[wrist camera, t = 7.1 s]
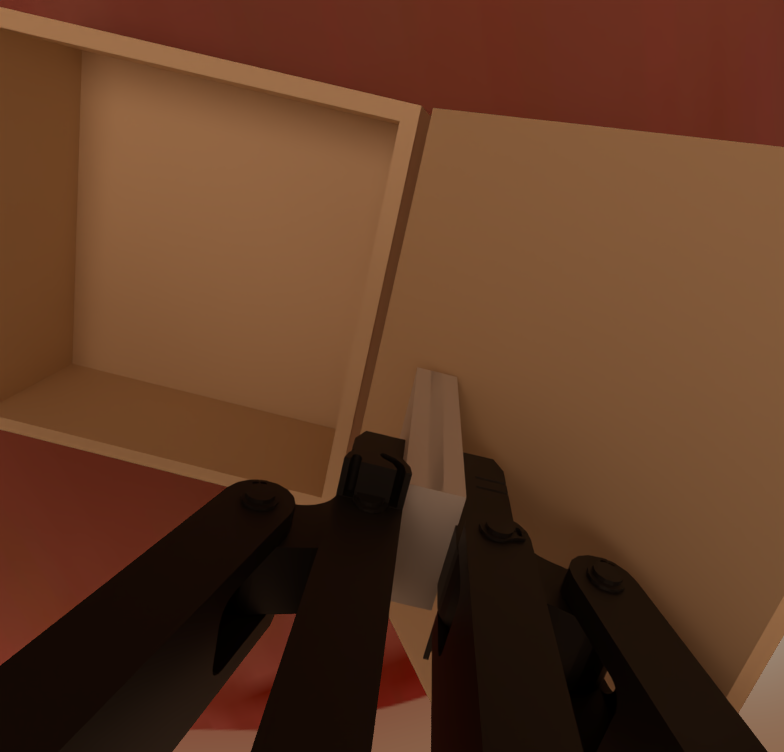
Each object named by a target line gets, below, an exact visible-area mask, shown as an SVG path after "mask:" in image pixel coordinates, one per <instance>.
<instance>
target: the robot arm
mask: <svg viewBox="0 0 784 752" xmlns="http://www.w3.org/2000/svg"><path fill="white" fill-rule="evenodd" d="M436 594H437V609H438V611H437V614H436V617H435V620H434V624H433V627H432V630H431V633H430V636H429V639H428V643H427V646H426V649H425V652H424V656H423V659H426V660H428V659H429V656H430V653H431V651H432V703H431V704H432V706H431V752H767V750H766V749H765V748H764V746H763V745H762V744H761V743H760V741H759V740H758V739H757V737H756V736H755V735H754V733H753V732H752V731H751V729H750V728H749V727H748V726H747V724H746V723H745V722H744V720H743V719H742V718H741V717H740V715H739V714H738V713H737V711H736V710H735V709H734V707H733V706H732V705H731V703H730V702H729V701H728V700H727V698H726V697H725V696H724V694H723V693H722V692H721V690H720V689H719V688H718V686H717V685H716V684H715V683H714V681H713V680H712V679H711V677H710V676H709V675H708V673H707V672H706V671H705V670H704V668H703V667H702V666H701V664H700V663H699V662H698V660H697V659H696V658H695V657H694V655H693V654H692V653H691V651H690V650H689V649H688V647H687V646H686V645H685V643H684V642H683V641H682V640H681V638H680V637H679V636H678V634H677V633H676V632H675V630H674V629H673V628H672V627H671V625H670V624H669V623H668V621H667V620H666V619H665V617H664V616H663V615H662V614H661V612H660V611H659V610H658V608H657V607H656V606H655V604H654V603H653V602H652V600H651V599H650V598H649V597H648V595H647V594H646V593H645V591H644V590H643V589H642V587H641V586H640V585H639V584H638V582H637V581H636V580H635V579H634V578H633V577H632V576H631V575H630V574H629V573H628V572H627V571H626V570H624V569H623V568H621V567H619V566H618V565H617V564H616V563H614V562H612V561H610V560H609V561H608V560H607V559H604V558H601V557H595V556H590V555H583V556H577V557H576V558H574V559H572V560H571V562H570V565H569V567H568V569H566V568H564V567H561V566H559V565H557V564H555V563H552V562H550V561H548V560H546V559H544V558H542V557H540V556H538V555H537V554H535V553H534V549H533V545H532V541H531V539H530V537H529V535H528V533H527V531H526V530H524V529H523V528H522V527H521V526H520V525H519V524H518V523H516V522H514V521H513V516H512V511H511V506H510V501H509V496H508V491H507V486H506V481H505V476H504V471H503V470H502V469H501V468H500V467H499V465H498V464H497V463H496V462H495V461H494V459H490V458H486V457H481V456H477V455H473V454H469V453H464V452H463V447H462V434H461V421H460V408H459V395H458V382H457V377H456V376H452V375H448V374H443V373H440V372H435V371H431V370H427V369H423V368H418V367H417V371H416V375H415V379H414V383H413V387H412V391H411V395H410V399H409V402H408V406H407V410H406V414H405V418H404V422H403V426H402V430H401V434H400V438H395V437H391V436H387V435H382V434H378V433H374V432H370V431H365V432H363V433H362V434H360V435H359V436H357V437H356V438H355V440H354V444H353V447H352V451H350V452H348V454H347V455H346V456H345V457H344V461H343V465H342V470H341V474H340V479H339V483H338V488H337V492H336V496H335V497H334V498H333V499H331V500H329V501H327V502H325V503H320V504H315V505H296V504H295V499H294V496H293V495H292V494H291V493H290V491H289V490H288V489H286V488H284V487H282V486H281V485H279V484H277V483H273V482H270V481H267V480H259V479H254V480H252V479H250V480H245V481H239V482H237V483H235V484H233V485H231V486H229V487H227V488H226V489H225V490H223V491H222V492H221V493H220V494H218V495H217V496H216V497H215V498H213V499H212V500H211V501H209V502H208V503H207V504H206V505H204V506H203V507H202V508H201V509H199V510H198V511H197V512H195V513H194V514H193V515H192V516H190V517H189V518H188V519H187V520H185V521H184V522H183V523H181V524H180V525H179V526H178V527H176V528H175V529H174V530H173V531H171V532H170V533H169V534H167V535H166V536H165V537H164V538H162V539H161V540H160V541H158V542H157V543H156V544H155V545H153V546H152V547H151V548H150V549H148V550H147V551H146V552H144V553H143V554H142V555H141V556H139V557H138V558H137V559H136V560H134V561H133V562H132V563H130V564H129V565H128V566H127V567H125V568H124V569H123V570H122V571H120V572H119V573H118V574H116V575H115V576H114V577H113V578H111V579H110V580H109V581H108V582H106V583H105V584H104V585H102V586H101V587H100V588H99V589H97V590H96V591H95V592H94V593H92V594H91V595H90V596H88V597H87V598H86V599H85V600H83V601H82V602H81V603H80V604H78V605H77V606H76V607H74V608H73V609H72V610H71V611H69V612H68V613H67V614H66V615H64V616H63V617H62V618H60V619H59V620H58V621H57V622H55V623H54V624H53V625H52V626H50V627H49V628H48V629H46V630H45V631H44V632H43V633H41V634H40V635H39V636H38V637H36V638H35V639H34V640H32V641H31V642H30V643H29V644H27V645H26V646H25V647H24V648H22V649H21V650H20V651H18V652H17V653H16V654H15V655H13V656H12V657H11V658H10V659H8V660H7V661H6V662H4V663H3V664H2V665H1V666H0V752H172V751H173V750H174V749H175V748H176V746H177V745H178V744H179V742H180V741H181V740H182V738H183V737H184V736H185V735H186V733H187V732H188V731H189V729H190V728H191V727H192V726H193V724H194V723H195V722H196V720H197V719H198V718H199V716H200V715H201V714H202V713H203V711H204V710H205V709H206V707H207V706H208V705H209V703H210V702H211V701H212V700H213V698H214V697H215V696H216V694H217V693H218V692H219V690H220V689H221V688H222V687H223V685H224V684H225V683H226V681H227V680H228V679H229V678H230V676H231V675H232V674H233V672H234V671H235V670H236V668H237V667H238V666H239V665H240V663H241V662H242V661H243V659H244V658H245V657H246V655H247V654H248V653H249V652H250V650H251V649H252V648H253V646H254V645H255V644H256V642H257V641H258V640H259V639H260V637H261V636H262V635H263V633H264V632H265V631H266V630H267V628H268V627H269V626H270V624H271V622H272V619H273V617H274V614H296V617H295V620H294V623H293V626H292V629H291V632H290V635H289V638H288V641H287V644H286V647H285V650H284V653H283V656H282V659H281V662H280V665H279V668H278V671H277V674H276V677H275V680H274V683H273V686H272V689H271V692H270V695H269V698H268V701H267V704H266V707H265V710H264V713H263V716H262V720H261V723H260V726H259V729H258V732H257V735H256V738H255V741H254V744H253V747H252V750H251V752H371V749H372V740H373V733H374V725H375V717H376V710H377V702H378V695H379V687H380V679H381V672H382V664H383V656H384V649H385V641H386V633H387V625H388V618H389V610H390V602H391V601H393V602H396V603H400V604H405V605H409V606H413V607H418V608H422V609H426V610H430V611H431V610H432V607H433V604H434V601H435V597H436ZM607 671H608V673H609V675H610V676H611V678H612V681H613V683H614V685H615V690H614V691H612V690H611V689H610V688H609V686H608V684H607V683H606V681H605V679H604V678H605V675H606V673H607Z"/></svg>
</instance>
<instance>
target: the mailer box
mask: <svg viewBox="0 0 784 752" xmlns="http://www.w3.org/2000/svg"><path fill="white" fill-rule="evenodd" d="M430 119H431V116H430V115H429V114H428V113H427V112H426V110H425V109H424V108H423V107H422V106H420V105H416V104H412V103H408V102H403V101H399V100H395V99H390V98H386V97H382V96H378V95H373V94H369V93H365V92H361V91H356V90H352V89H348V88H344V87H339V86H335V85H331V84H326V83H322V82H318V81H314V80H309V79H305V78H301V77H297V76H292V75H288V74H284V73H279V72H275V71H271V70H267V69H262V68H258V67H254V66H250V65H245V64H241V63H237V62H233V61H228V60H224V59H220V58H215V57H211V56H207V55H203V54H198V53H194V52H190V51H186V50H181V49H177V48H173V47H169V46H164V45H160V44H156V43H151V42H147V41H143V40H139V39H134V38H130V37H126V36H122V35H117V34H113V33H109V32H105V31H100V30H96V29H92V28H87V27H83V26H79V25H75V24H70V23H66V22H62V21H58V20H53V19H49V18H45V17H40V16H36V15H32V14H28V13H23V12H19V11H15V10H11V9H6V8H2V7H0V430H4V431H8V432H12V433H16V434H20V435H24V436H28V437H32V438H36V439H40V440H44V441H48V442H52V443H56V444H60V445H64V446H68V447H72V448H76V449H80V450H84V451H88V452H92V453H96V454H100V455H104V456H108V457H111V458H115V459H119V460H123V461H127V462H131V463H135V464H139V465H143V466H147V467H151V468H155V469H159V470H163V471H167V472H171V473H175V474H179V475H183V476H187V477H191V478H195V479H199V480H203V481H207V482H211V483H215V484H219V485H223V486H227V487H229V486H231V485H233V484H235V483H237V482H239V481H245V480H250V479H252V480H254V479H259V480H267V481H270V482H273V483H277V484H279V485H281V486H282V487H284V488H286V489H288V490H289V491H290V493H291V494H292V495H293V496H294V499H295V504H298V505H315V504H320V503H325V502H327V501H329V500H331V499H333V498H334V497H335V496H336V492H337V488H338V483H339V479H340V474H341V470H342V465H343V461H344V457H345V456H346V455H347V454H348V452H350V451H352V447H353V444H354V440H355V438H356V437H357V436H359V435H360V432H361V428H362V423H363V419H364V414H365V410H366V405H367V401H368V397H369V392H370V388H371V383H372V379H373V374H374V370H375V365H376V361H377V356H378V352H379V347H380V343H381V338H382V334H383V330H384V325H385V321H386V316H387V312H388V307H389V303H390V298H391V294H392V289H393V285H394V280H395V276H396V271H397V267H398V262H399V258H400V254H401V249H402V245H403V240H404V236H405V231H406V227H407V222H408V218H409V213H410V209H411V204H412V200H413V195H414V191H415V187H416V182H417V178H418V173H419V169H420V164H421V160H422V155H423V151H424V146H425V142H426V137H427V133H428V128H429V124H430Z"/></svg>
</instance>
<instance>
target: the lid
mask: <svg viewBox="0 0 784 752" xmlns="http://www.w3.org/2000/svg"><path fill="white" fill-rule="evenodd" d="M417 367H418V368H423V369H427V370H431V371H435V372H440V373H443V374H448V375H452V376H456V377H457V382H458V395H459V408H460V421H461V434H462V447H463V452H464V453H469V454H473V455H477V456H481V457H486V458H490V459H494V461H495V462H496V463H497V464H498V465H499V467H500V468H501V469H502V470H503V471H504V476H505V481H506V486H507V491H508V496H509V501H510V506H511V511H512V516H513V521H514V522H516V523H518V524H519V525H520V526H521V527H522V528H523V529H524V530H526V531H527V533H528V535H529V537H530V539H531V541H532V545H533V549H534V553H535V554H537V555H538V556H540V557H542V558H544V559H546V560H548V561H550V562H552V563H555V564H557V565H559V566H561V567H564V568H566V569H568V567H569V565H570V562H571V560H572V559H574V558H576V557H577V556H583V555H590V556H595V557H601V558H604V559H607V560H608V561H609V560H610V561H612V562H614V563H616V564H617V565H618V566H619V567H621V568H623V569H624V570H626V571H627V572H628V573H629V574H630V575H631V576H632V577H633V578H634V579H635V580H636V581H637V582H638V584H639V585H640V586H641V587H642V589H643V590H644V591H645V593H646V594H647V595H648V597H649V598H650V599H651V600H652V602H653V603H654V604H655V606H656V607H657V608H658V610H659V611H660V612H661V614H662V615H663V616H664V617H665V619H666V620H667V621H668V623H669V624H670V625H671V627H672V628H673V629H674V630H675V632H676V633H677V634H678V636H679V637H680V638H681V640H682V641H683V642H684V643H685V645H686V646H687V647H688V649H689V650H690V651H691V653H692V654H693V655H694V657H695V658H696V659H697V660H698V662H699V663H700V664H701V666H702V667H703V668H704V670H705V671H706V672H707V673H708V675H709V676H710V677H711V679H712V680H713V681H714V683H715V684H716V685H717V686H718V688H719V689H720V690H721V692H722V693H723V694H724V696H725V697H726V698H727V700H728V701H729V702H730V703H731V705H732V706H733V707H734V709H735V710H736V711H737V713H739V711H740V709H741V708H742V706H743V704H744V703H745V701H746V699H747V697H748V696H749V694H750V692H751V691H752V689H753V687H754V685H755V684H756V682H757V680H758V679H759V677H760V675H761V673H762V672H763V670H764V668H765V667H766V665H767V663H768V661H769V660H770V658H771V656H772V655H773V653H774V651H775V649H776V648H777V646H778V644H779V643H780V641H781V639H782V637H783V636H784V147H778V146H769V145H760V144H751V143H742V142H733V141H724V140H715V139H706V138H697V137H688V136H679V135H671V134H662V133H653V132H644V131H635V130H626V129H617V128H608V127H599V126H590V125H581V124H572V123H563V122H554V121H545V120H536V119H527V118H519V117H510V116H501V115H492V114H483V113H474V112H465V111H456V110H447V109H438V108H433V111H432V115H431V119H430V124H429V128H428V133H427V137H426V142H425V146H424V151H423V155H422V160H421V164H420V169H419V173H418V178H417V182H416V187H415V191H414V195H413V200H412V204H411V209H410V213H409V218H408V222H407V227H406V231H405V236H404V240H403V245H402V249H401V254H400V258H399V262H398V267H397V271H396V276H395V280H394V285H393V289H392V294H391V298H390V303H389V307H388V312H387V316H386V321H385V325H384V330H383V334H382V338H381V343H380V347H379V352H378V356H377V361H376V365H375V370H374V374H373V379H372V383H371V388H370V392H369V397H368V401H367V405H366V410H365V414H364V419H363V423H362V428H361V432H360V434H362V433H363V432H365V431H370V432H374V433H378V434H382V435H387V436H391V437H395V438H400V434H401V430H402V426H403V422H404V418H405V414H406V410H407V406H408V402H409V399H410V395H411V391H412V387H413V383H414V379H415V375H416V371H417ZM437 611H438V609H437V594H436V597H435V601H434V604H433V607H432V610H431V611H430V610H426V609H422V608H418V607H413V606H409V605H405V604H400V603H396V602H393V601H391V602H390V610H389V618H390V620H391V623H392V625H393V627H394V629H395V631H396V633H397V635H398V637H399V639H400V641H401V643H402V645H403V647H404V649H405V651H406V653H407V655H408V657H409V659H410V661H411V663H412V665H413V667H414V669H415V671H416V673H417V675H418V677H419V679H420V681H421V684H422V686H423V688H424V690H425V692H426V694H427V696H428V698H429V700H430V702H431V703H432V651H431V653H430V656H429V659H428V660H426V659H423V656H424V652H425V649H426V646H427V643H428V639H429V636H430V633H431V630H432V627H433V624H434V620H435V617H436V614H437ZM604 679H605V681H606V683H607V684H608V686H609V688H610V689H611V690H612V691H614V690H615V685H614V683H613V681H612V678H611V676H610V675H609V673H608V671H607V673H606V675H605V678H604Z"/></svg>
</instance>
